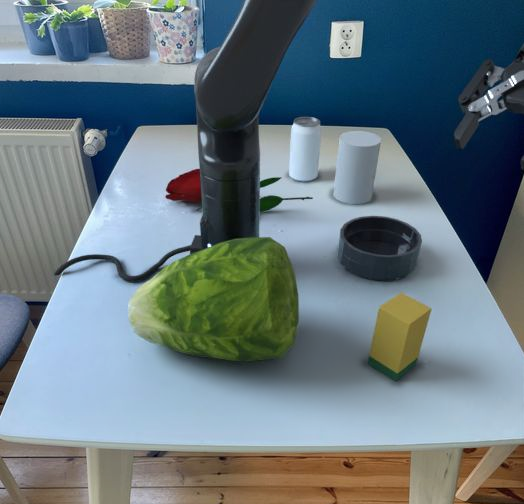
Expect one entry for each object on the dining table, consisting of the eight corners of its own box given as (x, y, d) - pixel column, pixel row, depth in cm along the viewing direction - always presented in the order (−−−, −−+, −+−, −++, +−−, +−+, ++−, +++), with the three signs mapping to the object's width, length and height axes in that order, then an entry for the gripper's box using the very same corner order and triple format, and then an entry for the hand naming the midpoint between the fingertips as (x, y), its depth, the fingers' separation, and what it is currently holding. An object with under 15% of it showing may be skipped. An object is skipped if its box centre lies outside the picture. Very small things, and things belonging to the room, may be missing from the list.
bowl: (336, 279, 91) (339, 253, 88) (337, 237, 101) (340, 213, 98) (419, 285, 90) (426, 259, 86) (412, 243, 100) (417, 218, 97)
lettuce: (156, 368, 83) (147, 262, 83) (307, 354, 80) (298, 244, 80) (111, 374, 67) (99, 243, 67) (299, 358, 63) (286, 219, 63)
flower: (314, 157, 100) (163, 156, 106) (308, 200, 97) (152, 195, 103) (317, 188, 109) (176, 185, 114) (312, 228, 105) (167, 223, 111)
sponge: (388, 348, 78) (401, 292, 71) (416, 365, 75) (432, 308, 69) (367, 363, 75) (378, 306, 69) (395, 381, 73) (410, 324, 66)
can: (315, 183, 118) (320, 128, 110) (286, 180, 119) (289, 125, 111) (319, 171, 123) (324, 117, 115) (291, 168, 124) (294, 114, 116)
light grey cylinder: (379, 200, 113) (389, 143, 105) (344, 206, 110) (352, 148, 102) (359, 184, 118) (367, 128, 110) (326, 190, 116) (332, 133, 108)
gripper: (508, -2, 63) (430, 122, 64) (638, 18, 55) (545, 158, 57) (515, 42, 69) (444, 154, 71) (632, 66, 61) (549, 190, 63)
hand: (489, 155), depth 64 cm, fingers open, 8 cm apart
